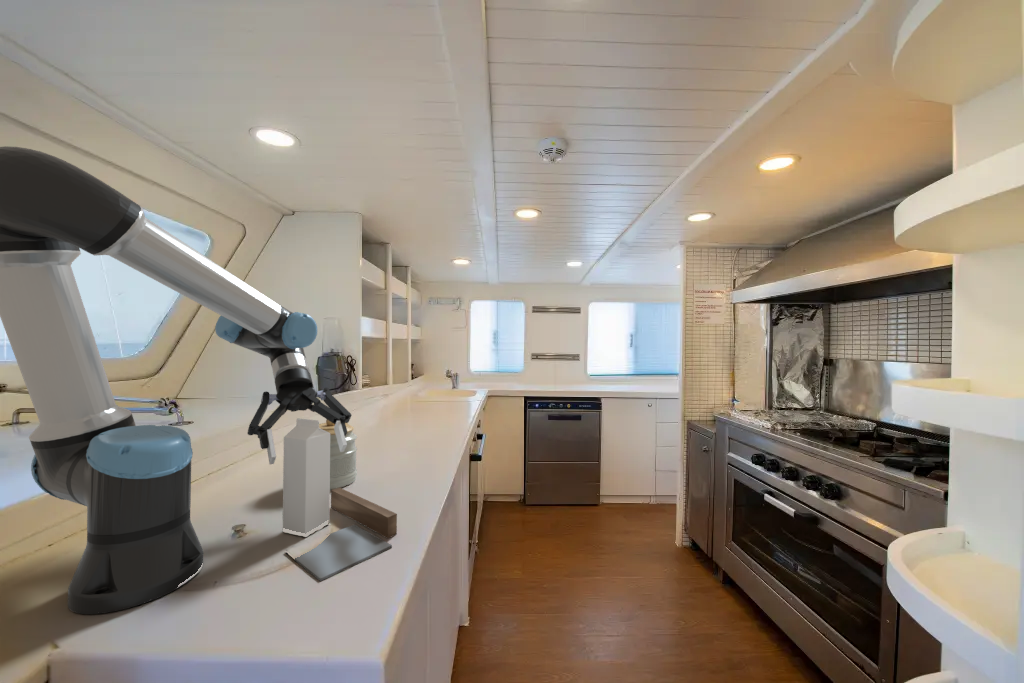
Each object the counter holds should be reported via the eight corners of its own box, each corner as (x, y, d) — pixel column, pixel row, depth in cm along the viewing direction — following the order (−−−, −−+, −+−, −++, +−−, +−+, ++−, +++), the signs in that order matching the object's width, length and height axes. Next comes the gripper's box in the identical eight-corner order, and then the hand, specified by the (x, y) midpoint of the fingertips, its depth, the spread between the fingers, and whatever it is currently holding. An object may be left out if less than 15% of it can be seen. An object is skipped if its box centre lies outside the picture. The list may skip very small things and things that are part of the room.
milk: (305, 538, 74) (306, 423, 74) (281, 533, 76) (282, 421, 76) (330, 524, 80) (331, 417, 80) (307, 519, 82) (308, 415, 82)
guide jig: (320, 581, 61) (320, 555, 61) (258, 531, 77) (258, 511, 77) (407, 539, 74) (407, 518, 74) (339, 504, 90) (339, 487, 90)
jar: (355, 471, 113) (355, 411, 113) (358, 486, 101) (358, 418, 101) (304, 478, 107) (305, 414, 107) (301, 494, 96) (302, 422, 96)
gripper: (342, 383, 103) (364, 453, 92) (226, 390, 86) (235, 476, 75) (350, 364, 99) (373, 434, 88) (229, 368, 82) (240, 455, 71)
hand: (310, 454), depth 81 cm, fingers open, 13 cm apart
